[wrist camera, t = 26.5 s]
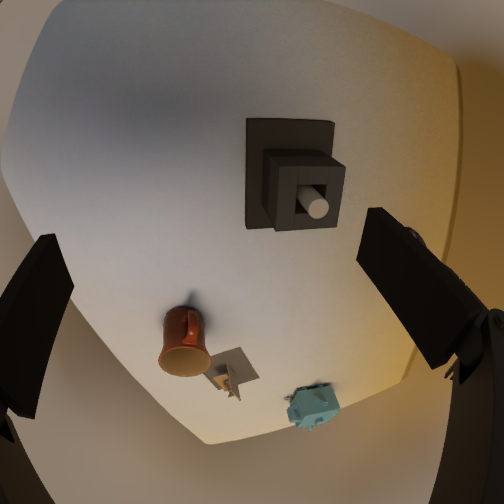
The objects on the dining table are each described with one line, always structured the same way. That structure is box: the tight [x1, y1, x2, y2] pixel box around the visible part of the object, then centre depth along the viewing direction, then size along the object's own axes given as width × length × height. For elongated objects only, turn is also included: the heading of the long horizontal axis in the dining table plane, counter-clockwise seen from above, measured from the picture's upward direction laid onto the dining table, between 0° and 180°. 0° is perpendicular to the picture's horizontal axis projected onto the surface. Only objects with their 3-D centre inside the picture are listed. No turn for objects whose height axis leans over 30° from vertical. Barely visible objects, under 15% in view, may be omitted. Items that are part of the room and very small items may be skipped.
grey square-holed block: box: [268, 157, 346, 232], centre depth 34 cm, size 8×8×4 cm
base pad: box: [245, 118, 335, 229], centre depth 36 cm, size 16×12×12 cm
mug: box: [158, 307, 212, 377], centre depth 48 cm, size 12×9×10 cm
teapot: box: [287, 384, 340, 432], centre depth 75 cm, size 16×18×11 cm
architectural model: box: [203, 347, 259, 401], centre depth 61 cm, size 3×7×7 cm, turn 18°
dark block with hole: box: [262, 149, 330, 216], centre depth 38 cm, size 8×8×4 cm
